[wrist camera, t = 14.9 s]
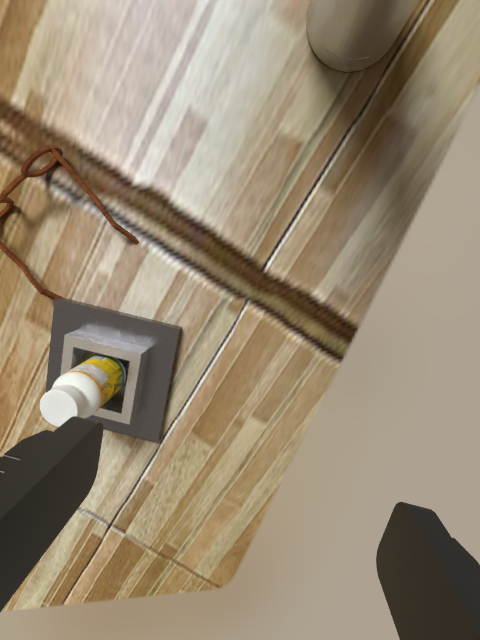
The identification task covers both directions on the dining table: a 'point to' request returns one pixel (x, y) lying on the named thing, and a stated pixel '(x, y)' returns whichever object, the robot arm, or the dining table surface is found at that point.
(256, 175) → the dining table surface
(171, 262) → the dining table surface
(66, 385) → the supplement bottle
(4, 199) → the glasses
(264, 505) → the dining table surface
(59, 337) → the mount
